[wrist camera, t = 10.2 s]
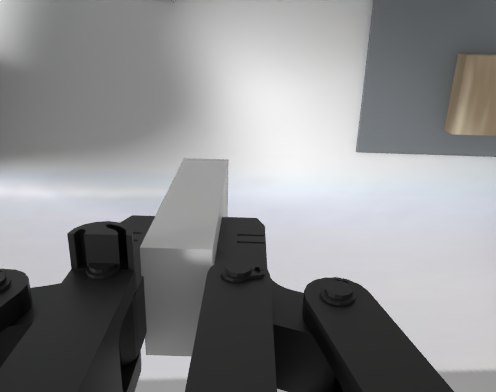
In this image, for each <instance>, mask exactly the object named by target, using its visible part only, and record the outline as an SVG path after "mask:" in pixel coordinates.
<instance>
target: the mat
mask: <svg viewBox="0 0 496 392" xmlns="http://www.w3.org/2000/svg"><path fill="white" fill-rule="evenodd" d="M458 54H487V55H496V0H374V2H373V10H372V19H371V27H370V36H369V44H368V53H367V61H366V70H365V78H364V87H363V96H362V104H361V113H360V121H359V130H358V138H357V147H356V152H365V153H396V154H427V155H459V156H490V157H496V136H486V135H455V134H450V133H448V132H447V131H445V130H444V128H445V123H446V117H447V112H448V106H449V101H450V95H451V90H452V85H453V79H454V74H455V68H456V63H457V58H458Z"/></svg>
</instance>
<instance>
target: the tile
mask: <svg viewBox="0 0 496 392" xmlns="http://www.w3.org/2000/svg"><path fill="white" fill-rule="evenodd" d="M444 130H445V131H447V132H448V133H450V134H455V135H486V136H496V55H487V54H458V58H457V63H456V68H455V74H454V79H453V85H452V90H451V95H450V101H449V106H448V112H447V117H446V123H445V128H444Z"/></svg>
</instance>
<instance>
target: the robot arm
mask: <svg viewBox="0 0 496 392" xmlns="http://www.w3.org/2000/svg"><path fill="white" fill-rule="evenodd" d="M227 214H228V160H221V159H190V158H184V160H183V162H182V164H181V166H180V168H179V170H178V172H177V174H176V176H175V178H174V180H173V182H172V184H171V186H170V188H169V190H168V192H167V194H166V196H165V198H164V200H163V202H162V204H161V206H160V208H159V210H158V212H157V214H156V216H131V217H129V218H127V219H126V220H124V221H122V222H121V223H118V222H110V221H107V222H94V223H89V224H84V225H82V226H79V227H77V228H74V229H73V230H72V231H70V232H69V233H68V242H69V251H70V259H71V267H72V269H71V271H70V272H69V273H68V275H67V276H66V278H65V279H64V280H63V282H62V283H60V284H55V285H49V286H42V287H35V288H30V285H29V278H28V277H27V276H26V274H25V273H23V272H21V271H18V270H11V269H0V392H134V391H135V388H136V385H137V382H138V379H139V376H140V372H141V352H140V350H141V347H142V344H143V341H144V338H145V343H146V355H167V356H192V357H191V363H190V368H189V373H188V379H187V384H186V389H185V392H277V389H280V390H284V391H287V392H454V391H453V390H452V389H451V388H450V387H449V385H448V384H447V383H446V382H445V381H444V379H443V378H442V377H441V376H440V375H439V374H438V372H437V371H436V370H435V369H434V368H433V367H432V365H431V364H430V363H429V362H428V361H427V359H426V358H425V357H424V356H423V355H422V354H421V352H420V351H419V350H418V349H417V348H416V347H415V345H414V344H413V343H412V342H411V341H410V340H409V338H408V337H407V336H406V335H405V334H404V333H403V331H402V330H401V329H400V328H399V327H398V325H397V324H396V323H395V322H394V321H393V320H392V318H391V317H390V316H389V315H388V314H387V313H386V311H385V310H384V309H383V308H382V307H381V306H380V304H379V303H378V302H377V301H376V300H375V299H374V297H373V296H372V295H371V294H370V293H369V292H368V291H367V290H366V289H365V288H363V287H362V286H361V285H359V284H357V283H354V282H352V281H350V280H347V279H341V278H336V277H334V278H322V279H317V280H314V281H312V282H311V283H309V284H308V285H307V286H306V288H305V290H304V293H302V292H297V291H293V290H290V289H286V288H284V287H282V286H280V285H278V284H277V283H275V282H274V281H273V280H272V279H271V278H270V274H269V272H268V269H267V258H266V240H265V226H264V225H263V224H262V223H261V222H260V221H259V220H258V219H257V218H237V217H227Z"/></svg>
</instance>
